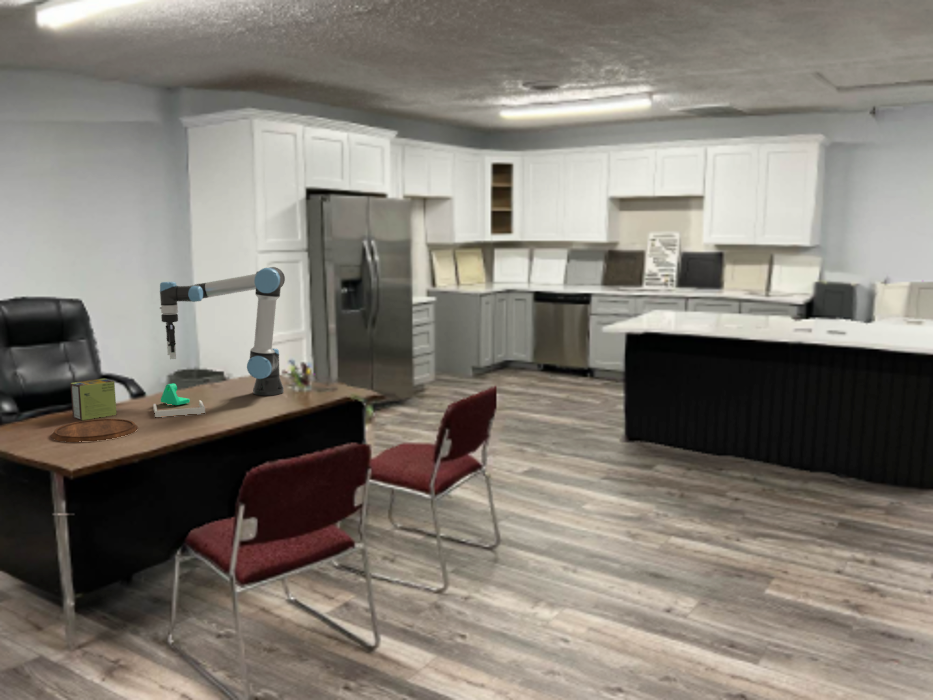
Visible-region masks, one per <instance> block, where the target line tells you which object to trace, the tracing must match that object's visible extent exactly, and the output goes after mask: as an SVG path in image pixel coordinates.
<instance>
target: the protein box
mask: <svg viewBox="0 0 933 700" xmlns="http://www.w3.org/2000/svg"><path fill="white" fill-rule="evenodd" d="M115 385H116V383H115V380H111V379H108V378H98V379H89V380H84V381H77V382H76V381H75V382H70V385H69V386H70V395H71V397H70V398H71V408H72V412H71V413H72V418H74V419H77V420H80V421H86V420H95V419H100V418H99V417H101V418H107V417H111V416H112V415H113V416H116V414H117V401H116V386H115ZM106 416H107V417H106ZM94 418H95V419H94Z"/></svg>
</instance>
